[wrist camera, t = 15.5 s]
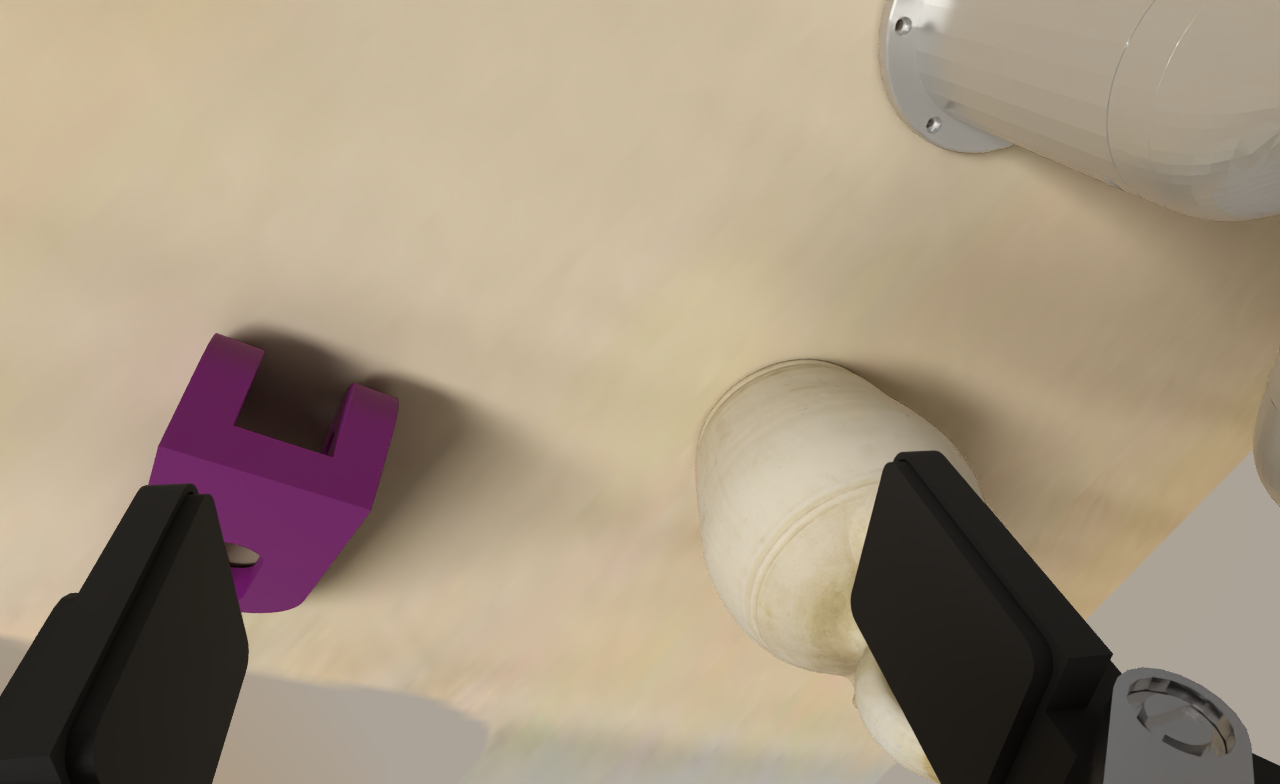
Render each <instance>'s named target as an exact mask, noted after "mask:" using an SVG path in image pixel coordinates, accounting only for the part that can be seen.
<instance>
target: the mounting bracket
mask: <svg viewBox="0 0 1280 784" xmlns="http://www.w3.org/2000/svg"><path fill="white" fill-rule="evenodd" d="M264 354H265V350H262V349H259V348H256V347H254V346H251V345H248V344H245V343H243V342H240V341H237V340H234V339H231V338H229V337H226V336H223V335H220V334H218V333H216V334H215V335H214V336H213V337H212V339H211V341H210V342H209V344H208V346H207V348H206V350H205V352H204V353H203V355H202V357H201V359H200V361H199V363H198V365H197V368H196V370H195V372H194V374H193V376H192V378H191V380H190V382H189V384H188V386H187V388H186V390H185V392H184V394H183V396H182V398H181V401H180V403H179V405H178V407H177V409H176V411H175V413H174V415H173V417H172V419H171V421H170V423H169V425H168V427H167V429H166V431H165V434H164V436H163V438H162V440H161V442H160V444H159V446H158V450H157V453H156V457H155V461H154V465H153V469H152V473H151V476H150V480H149V484H148V485H164V484H186V483H191V484H194V485H195V486H196V488H197V489H198V492H199V494H210V495H211V496H212V497H213V499H214V502H215V506H216V510H217V514H218V518H219V523H220V527H221V531H222V535H223V539H224V542H226V543H232V544H237V545H240V546H243V547H246V548H248V549H251V550H253V551H254V552H256V553H257V554H259V555H260V557H259V559H258V561H257V562H256V564H255V565H254V566H252V567H248V568H234V567H230V569H231V573H232V577H233V581H234V585H235V589H236V594H237V598H238V602H239V606H240V610H241V612H246V613H272V612H280V611H285V610H289V609H292V608H295V607H297V606H299V605H300V604H301V603H302V602H303V601H304V600H305V599H306V597H307V596H308V595H309V593H310V592H311V591H312V589H313V588H314V587H315V585H316V584H317V583H318V581H319V580H320V579H321V577H322V576H323V574H324V573H325V572H326V570H327V569H328V568H329V566H330V565H331V564H332V562H333V561H334V560H335V558H336V557H337V556H338V554H339V553H340V552H341V550H342V549H343V547H344V546H345V545H346V543H347V542H348V541H349V539H350V538H351V537H352V535H353V534H354V533H355V531H356V530H357V529H358V527H359V526H360V525H361V523H362V522H363V520H364V519H365V518H366V516H367V515H368V514H369V512H370V511H371V509H372V505H373V502H374V498H375V495H376V491H377V487H378V484H379V480H380V477H381V473H382V470H383V466H384V463H385V459H386V455H387V452H388V448H389V445H390V441H391V438H392V434H393V430H394V427H395V423H396V418H397V413H398V406H399V402H398V399H397V398H395V397H392V396H390V395H387V394H384V393H381V392H378V391H376V390H373V389H370V388H367V387H365V386H362V385H359V384H356V383H352V384H351V386H350V387H349V389H348V390H347V392H346V394H345V396H344V398H343V400H342V402H341V404H340V406H339V409H338V411H337V413H336V415H335V417H334V419H333V422H332V424H331V426H330V428H329V430H328V433H327V435H326V437H325V440H324V442H323V445H322V447H321V450H320V452H319V453H317V452H314V451H311V450H308V449H305V448H302V447H299V446H296V445H292V444H289V443H286V442H283V441H280V440H277V439H274V438H271V437H268V436H264V435H261V434H258V433H255V432H252V431H249V430H246V429H243V428H240V427H236V423H237V421H238V418H239V416H240V413H241V411H242V409H243V406H244V404H245V401H246V399H247V396H248V394H249V391H250V389H251V386H252V384H253V382H254V379H255V377H256V374H257V372H258V369H259V367H260V364H261V362H262V359H263V356H264Z"/></svg>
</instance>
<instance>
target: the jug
mask: <svg viewBox="0 0 1280 784" xmlns="http://www.w3.org/2000/svg"><path fill="white" fill-rule="evenodd" d="M931 450H935V451H940V452H941V453H942V454H943V455H944V456H945V457H946V458H947V459H948V460H949V462H950V463H951V464H952V465H953V466H954V468H955V469H956V470H957V471H958V472H959V473H960V475H961V476H962V477H963V478H964V479H965V480H966V482H967V483H968V484H969V485H970V486H971V488H972V489H973V490H974V491H975V492H976V493H977V495H978V496H979V497H980V498H981V499H982V500H983V502H984V503H985V500H984V497H983V494H982V492H981V489H980V487H979V484H978V482H977V480H976V478H975V476H974V474H973V472H972V471H971V469H970V467H969V466H968V464H967V462H966V461H965V459H964V458H963V457H962V455H961V454H960V453H959V451H958V450H957V449H956V448H955V446H954V445H953V444H952V443H951V442H950V441H949V439H948V438H947V437H946V436H945V435H944V434H942V433H941V432H940V431H939V430H938V429H937V428H935V427H934V426H933V425H932V424H930V423H929V422H928V421H926V420H925V419H924V418H923V417H921V416H920V415H918V414H917V413H915V412H914V411H912V410H911V409H909V408H907V407H906V406H904V405H902V404H901V403H899V402H897V401H896V400H894V399H892V398H890V397H889V396H887V395H886V394H884V393H883V392H882V391H880V390H879V389H878V388H877V387H875V386H874V385H872V384H871V383H870V382H868V381H867V380H865V379H863V378H862V377H860V376H858V375H856V374H853V373H851V372H850V371H848V370H847V369H845V368H842V367H840V366H838V365H835V364H832V363H828V362H824V361H818V360H794V361H786V362H781V363H777V364H774V365H771V366H768V367H766V368H764V369H761V370H759V371H757V372H755V373H753V374H751V375H749V376H747V377H746V378H744V379H743V380H741V381H740V382H738V383H737V384H736V385H734V386H733V387H732V388H731V389H730V390H729V391H728V392H727V393H726V394H725V395H724V396H723V397H722V398H721V399H720V400H719V401H718V402H717V404H716V405H715V406H714V408H713V409H712V410H711V412H710V414H709V415H708V417H707V419H706V421H705V423H704V426H703V428H702V431H701V434H700V437H699V441H698V447H697V458H696V492H697V501H698V511H699V520H700V529H701V539H702V546H703V553H704V558H705V563H706V566H707V570H708V573H709V576H710V578H711V581H712V583H713V585H714V587H715V589H716V591H717V593H718V595H719V597H720V599H721V600H722V602H723V604H724V606H725V607H726V609H727V610H728V612H729V613H730V615H731V616H732V618H733V619H734V620H735V622H736V623H737V624H738V625H739V626H740V627H741V628H742V630H743V631H744V632H745V633H746V634H747V635H748V636H749V637H750V638H751V639H752V640H753V641H755V642H756V643H757V644H758V645H760V646H761V647H762V648H764V649H765V650H767V651H768V652H769V653H771V654H772V655H773V656H775V657H776V658H778V659H780V660H782V661H784V662H786V663H789V664H791V665H794V666H796V667H799V668H802V669H805V670H809V671H813V672H817V673H825V674H832V675H839V676H844V677H846V678H848V679H849V680H850V681H851V682H852V684H853V686H854V691H855V694H854V697H853V705H854V706H855V707H856V708H857V709H858V711H859V714H860V717H861V719H862V721H863V723H864V725H865V727H866V729H867V730H868V732H869V733H870V735H871V736H872V737H873V739H874V740H875V741H876V743H877V744H878V745H879V746H880V747H881V748H882V749H883V750H884V751H885V752H886V753H887V754H888V755H889V756H890V757H891V758H893V759H894V760H895V761H896V762H897V763H899V764H900V765H902V766H903V767H905V768H906V769H908V770H910V771H912V772H914V773H916V774H918V775H920V776H922V777H924V778H926V779H928V780H931V781H934V782H936V783H939V784H941V783H940V781H939V779H938V778H937V776H936V774H935V772H934V770H933V768H932V766H931V764H930V762H929V761H928V759H927V757H926V755H925V753H924V751H923V749H922V747H921V745H920V744H919V742H918V740H917V738H916V736H915V734H914V732H913V730H912V728H911V726H910V725H909V723H908V721H907V719H906V717H905V715H904V713H903V711H902V709H901V708H900V706H899V704H898V702H897V700H896V698H895V696H894V694H893V692H892V690H891V689H890V687H889V685H888V683H887V681H886V679H885V677H884V675H883V673H882V672H881V670H880V668H879V666H878V664H877V662H876V660H875V658H874V656H873V655H872V653H871V651H870V649H869V647H868V645H867V643H866V641H865V639H864V637H863V636H862V634H861V632H860V630H859V628H858V626H857V624H856V622H855V620H854V618H853V615H852V611H851V602H850V598H851V592H852V588H853V585H854V581H855V577H856V573H857V569H858V565H859V561H860V557H861V553H862V549H863V545H864V542H865V538H866V534H867V530H868V526H869V522H870V518H871V514H872V510H873V506H874V502H875V499H876V495H877V491H878V487H879V483H880V479H881V475H882V471H883V468H884V466H885V465H886V464H887V463H888V462H893V461H894V458H895V457H896V455H897V454H898V453H900V452H908V451H931Z"/></svg>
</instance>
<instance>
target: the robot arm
mask: <svg viewBox="0 0 1280 784" xmlns="http://www.w3.org/2000/svg"><path fill="white" fill-rule="evenodd" d="M898 20H899V26H898V28H897V29H895V25H896V22H897V21H898ZM879 63H880V70H881V78H882V82H883V85H884V87H885V90H886V93H887V96H888V99H889V101H890V103H891V105H892V106H893V108H894V110H895V111H896V113H897V115H898V116H899V118H900V119H901V120H902V121H903V122H904V123H905V124H906V125H907V126H908V127H909V128H910V129H911V130H912V131H913V132H914V133H916V134H917V135H919V136H920V137H922V138H924V139H925V140H927V141H928V142H930V143H933V144H935V145H937V146H939V147H942V148H944V149H947V150H952V151H957V152H961V153H985V152H990V151H995V150H999V149H1004V148H1007V147H1009V146H1011V145H1014V144H1016V145H1018V146H1020V147H1023V148H1025V149H1027V150H1030V151H1032V152H1035V153H1037V154H1039V155H1042V156H1044V157H1046V158H1049V159H1051V160H1053V161H1056V162H1058V163H1060V164H1063V165H1065V166H1067V167H1070V168H1072V169H1074V170H1077V171H1079V172H1081V173H1084V174H1086V175H1088V176H1091V177H1093V178H1095V179H1098V180H1100V181H1102V182H1105V183H1107V184H1109V185H1112V186H1114V187H1116V188H1119V189H1121V190H1123V191H1126V192H1128V193H1131V194H1133V195H1136V196H1138V197H1141V198H1143V199H1146V200H1148V201H1150V202H1153V203H1155V204H1157V205H1160V206H1162V207H1165V208H1167V209H1169V210H1172V211H1175V212H1177V213H1180V214H1184V215H1187V216H1190V217H1195V218H1199V219H1206V220H1213V221H1246V220H1255V219H1262V218H1266V217H1271V216H1275V215H1280V0H886V3H885V6H884V11H883V16H882V21H881V26H880V32H879ZM929 120H930V122H929V124H928V125H927V123H928V121H929ZM926 125H927V126H926ZM1253 454H1254V461H1255V465H1256V469H1257V472H1258V475H1259V477H1260V480H1261V482H1262V483H1263V485H1264V487H1265V488H1266V490H1267V492H1268V493H1269V495H1270V496H1271V498H1272V499H1273V500H1274V501H1275V502H1276V503H1277V504H1278V505H1279V506H1280V344H1279V347H1278V350H1277V353H1276V356H1275V359H1274V362H1273V365H1272V368H1271V371H1270V373H1269V376H1268V382H1267V385H1266V388H1265V391H1264V394H1263V397H1262V400H1261V403H1260V407H1259V411H1258V415H1257V419H1256V423H1255V430H1254V438H1253ZM850 602H851V611H852V615H853V618H854V620H855V622H856V624H857V626H858V628H859V630H860V632H861V634H862V636H863V637H864V639H865V641H866V643H867V645H868V647H869V649H870V651H871V653H872V655H873V656H874V658H875V660H876V662H877V664H878V666H879V668H880V670H881V672H882V673H883V675H884V677H885V679H886V681H887V683H888V685H889V687H890V689H891V690H892V692H893V694H894V696H895V698H896V700H897V702H898V704H899V706H900V708H901V709H902V711H903V713H904V715H905V717H906V719H907V721H908V723H909V725H910V726H911V728H912V730H913V732H914V734H915V736H916V738H917V740H918V742H919V744H920V745H921V747H922V749H923V751H924V753H925V755H926V757H927V759H928V761H929V762H930V764H931V766H932V768H933V770H934V772H935V774H936V776H937V778H938V779H939V781H940V783H941V784H1280V766H1279V765H1277V764H1275V763H1272V762H1270V761H1268V760H1266V759H1264V758H1262V757H1259V756H1257V755H1255V754H1253V753H1252V748H1251V743H1250V739H1249V735H1248V732H1247V729H1246V728H1245V726H1244V725H1243V724H1242V722H1241V720H1240V719H1239V717H1238V716H1237V715H1236V713H1235V712H1234V711H1233V710H1232V709H1231V708H1230V707H1229V706H1228V705H1227V704H1226V703H1224V701H1222V700H1221V699H1220V698H1219V697H1218V696H1216V695H1215V694H1213V693H1212V692H1210V691H1209V690H1207V689H1206V688H1205V687H1203V686H1202V685H1200V684H1198V683H1196V682H1194V681H1192V680H1190V679H1188V678H1185V677H1183V676H1181V675H1178V674H1175V673H1172V672H1169V671H1165V670H1161V669H1154V668H1137V669H1131V670H1127V671H1126V672H1124V673H1123V674H1121V672H1120V671H1119V670H1118V669H1117V668H1116V666H1115V665H1114V664H1113V663H1112V662H1111V660H1110V659H1111V657H1112V655H1113V653H1112V652H1111V651H1110V650H1109V649H1108V647H1107V646H1106V645H1105V644H1104V643H1103V641H1101V639H1100V638H1099V637H1098V636H1097V634H1096V633H1095V632H1094V631H1093V630H1092V629H1091V627H1090V626H1089V625H1088V624H1087V623H1086V621H1085V620H1084V619H1083V618H1082V617H1081V616H1080V614H1079V613H1078V612H1077V611H1076V610H1075V609H1074V607H1073V606H1072V605H1071V604H1070V603H1069V602H1068V600H1067V599H1066V598H1065V597H1064V596H1063V594H1062V593H1061V592H1060V591H1059V590H1058V589H1057V587H1056V586H1055V585H1054V584H1053V583H1052V582H1051V580H1050V579H1049V578H1048V577H1047V576H1046V574H1045V573H1044V572H1043V571H1042V570H1041V569H1040V567H1039V566H1038V565H1037V564H1036V563H1035V562H1034V560H1033V559H1032V558H1031V557H1030V556H1029V555H1028V553H1027V552H1026V551H1025V550H1024V549H1023V547H1022V546H1021V545H1020V544H1019V543H1018V542H1017V540H1016V539H1015V538H1014V537H1013V536H1012V535H1011V533H1010V532H1009V531H1008V530H1007V529H1006V527H1005V526H1004V525H1003V524H1002V523H1001V522H1000V520H999V519H998V518H997V517H996V516H995V515H994V513H993V512H992V511H991V510H990V509H989V507H988V506H987V505H986V504H985V503H984V502H983V500H982V499H981V498H980V497H979V496H978V495H977V493H976V492H975V491H974V490H973V489H972V488H971V486H970V485H969V484H968V483H967V482H966V480H965V479H964V478H963V477H962V476H961V475H960V473H959V472H958V471H957V470H956V469H955V468H954V466H953V465H952V464H951V463H950V462H949V460H948V459H947V458H946V457H945V456H944V455H943V454H942V453H941V452H940V451H935V450H931V451H908V452H900V453H898V454H897V455H896V457H895V458H894V461H893V462H888V463H887V464H886V465H885V466H884V468H883V471H882V475H881V479H880V483H879V487H878V491H877V495H876V499H875V502H874V506H873V510H872V514H871V518H870V522H869V526H868V530H867V534H866V538H865V542H864V545H863V549H862V553H861V557H860V561H859V565H858V569H857V573H856V577H855V581H854V585H853V588H852V592H851V598H850ZM248 654H249V649H248V640H247V635H246V631H245V627H244V623H243V619H242V615H241V610H240V606H239V602H238V598H237V594H236V589H235V585H234V581H233V577H232V573H231V569H230V564H229V560H228V556H227V552H226V548H225V544H224V539H223V535H222V531H221V527H220V523H219V518H218V514H217V510H216V506H215V502H214V499H213V497H212V496H211V495H210V494H199V492H198V489H197V488H196V486H195V485H194V484H191V483H186V484H164V485H145V486H143V487H141V488H140V489H139V491H138V492H137V494H136V495H135V497H134V499H133V500H132V502H131V504H130V506H129V507H128V509H127V511H126V512H125V514H124V516H123V518H122V519H121V521H120V523H119V524H118V526H117V528H116V530H115V531H114V533H113V535H112V536H111V538H110V540H109V542H108V543H107V545H106V547H105V548H104V550H103V552H102V554H101V555H100V557H99V559H98V560H97V562H96V564H95V566H94V567H93V569H92V571H91V572H90V574H89V576H88V578H87V579H86V581H85V583H84V584H83V586H82V588H81V590H80V591H79V593H70V594H68V595H66V596H64V597H63V598H61V600H60V601H59V602H58V603H57V605H56V606H55V607H54V608H53V610H52V612H51V613H50V615H49V617H48V618H47V620H46V622H45V623H44V625H43V627H42V628H41V630H40V631H39V633H38V635H37V636H36V638H35V640H34V641H33V643H32V645H31V646H30V648H29V650H28V651H27V653H26V655H25V656H24V658H23V660H22V661H21V663H20V664H19V666H18V668H17V670H16V671H15V673H14V674H13V676H12V678H11V679H10V681H9V683H8V685H7V686H6V688H5V689H4V691H3V693H2V694H1V696H0V784H212V782H213V778H214V775H215V772H216V768H217V765H218V762H219V759H220V755H221V751H222V749H223V745H224V742H225V739H226V735H227V732H228V729H229V726H230V722H231V719H232V716H233V713H234V709H235V705H236V703H237V699H238V696H239V692H240V689H241V686H242V683H243V680H244V676H245V673H246V669H247V665H248Z"/></svg>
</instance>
